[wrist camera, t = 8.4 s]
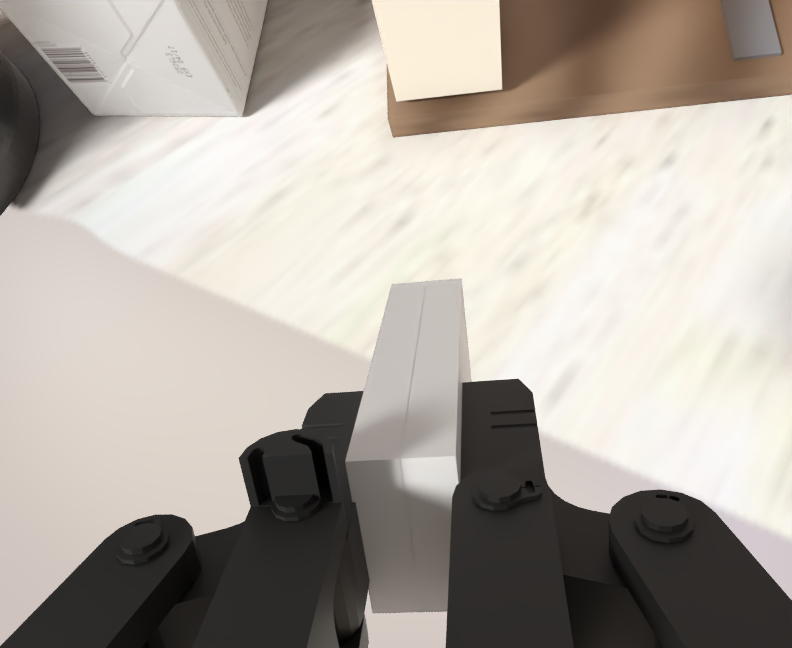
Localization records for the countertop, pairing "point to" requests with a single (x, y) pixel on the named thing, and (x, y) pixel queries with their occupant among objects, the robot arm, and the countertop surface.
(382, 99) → the countertop surface
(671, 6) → the walnut track board
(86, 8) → the supplement box
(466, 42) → the tall white pillar
